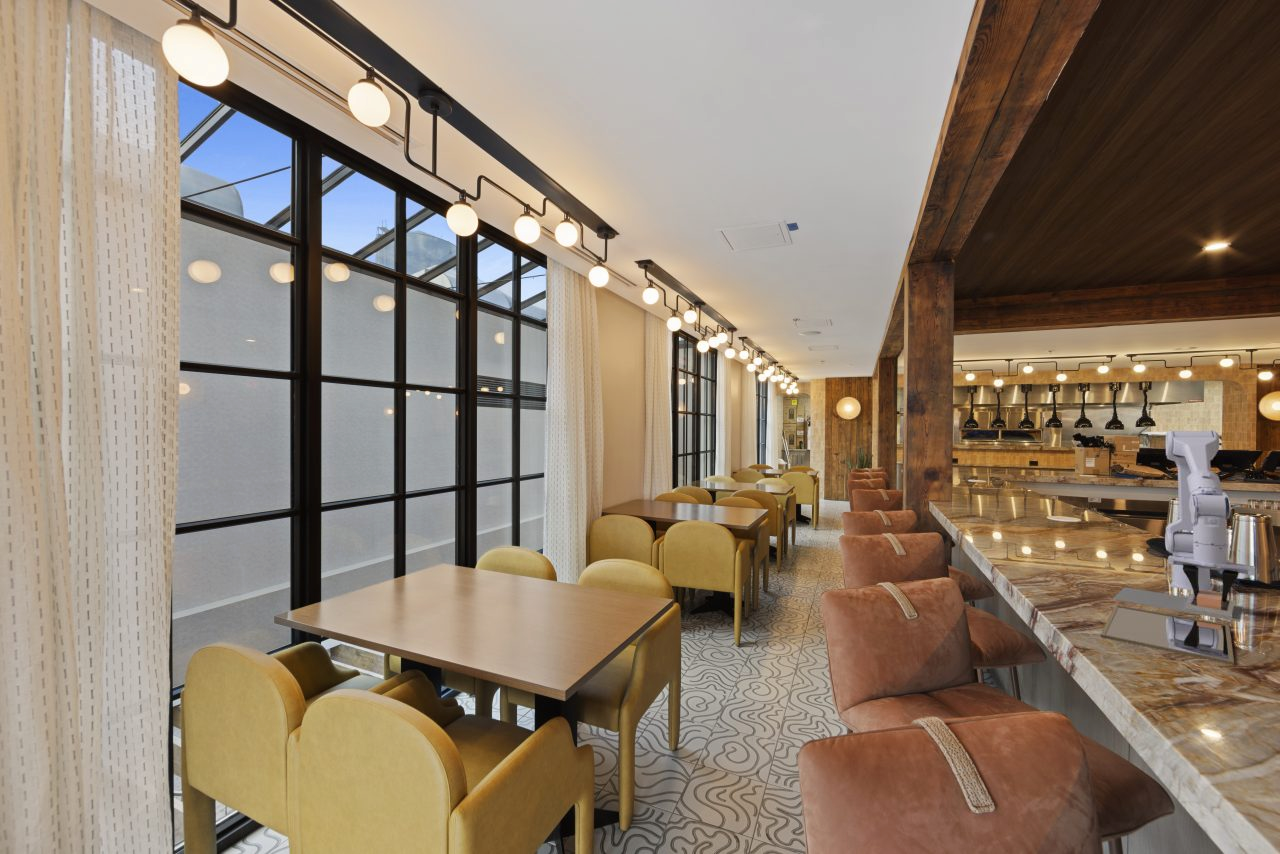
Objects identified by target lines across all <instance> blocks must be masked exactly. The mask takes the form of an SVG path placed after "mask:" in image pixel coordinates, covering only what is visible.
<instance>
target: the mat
mask: <svg viewBox="0 0 1280 854" xmlns="http://www.w3.org/2000/svg"><path fill="white" fill-rule="evenodd" d="M1188 599H1189V596H1188V597H1186V596H1181V595H1174V594H1168V593H1162V592H1157V591H1151V590H1144V589H1138V588H1131V587H1126V586H1124V587H1123V588H1122V589H1121V590H1120V591H1119V592H1118V593H1117V594H1116V595H1115V596H1114V597H1113V598H1112V600H1115V601H1121V602H1127V603H1128V602H1129V603H1132V604H1133V603H1134V604H1140V605H1144V606H1150V607H1156V608H1159V609H1160V608H1161V609H1167V610H1172V611H1178V612H1184V613H1189V614H1194V615H1199V616H1204V617H1205V616H1206V617H1211V618H1215V619H1222V620H1227V621H1232V622H1238V623H1239V622H1240V621H1241V617H1242V611H1243V607H1244V606H1241V605H1236V604H1235V609H1234V613H1233V617H1232V618H1226V617H1221V616H1215V615H1210V614H1204V613H1198V612H1193V611H1187V610H1186V602H1187V601H1188ZM1194 605H1197V601H1195V603H1194ZM1227 609H1228V606H1223V609H1222V610H1227Z"/></svg>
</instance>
